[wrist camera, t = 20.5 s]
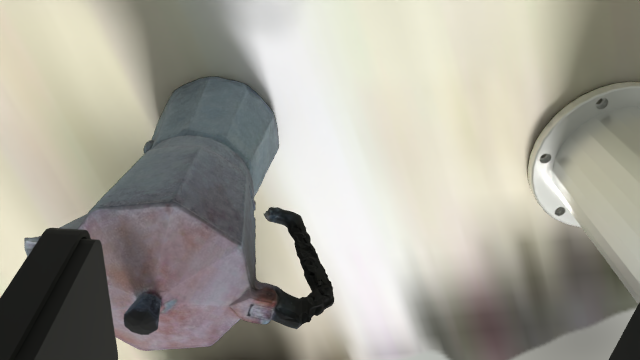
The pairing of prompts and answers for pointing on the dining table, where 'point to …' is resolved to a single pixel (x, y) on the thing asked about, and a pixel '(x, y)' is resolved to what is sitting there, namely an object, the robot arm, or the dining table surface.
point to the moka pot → (198, 225)
